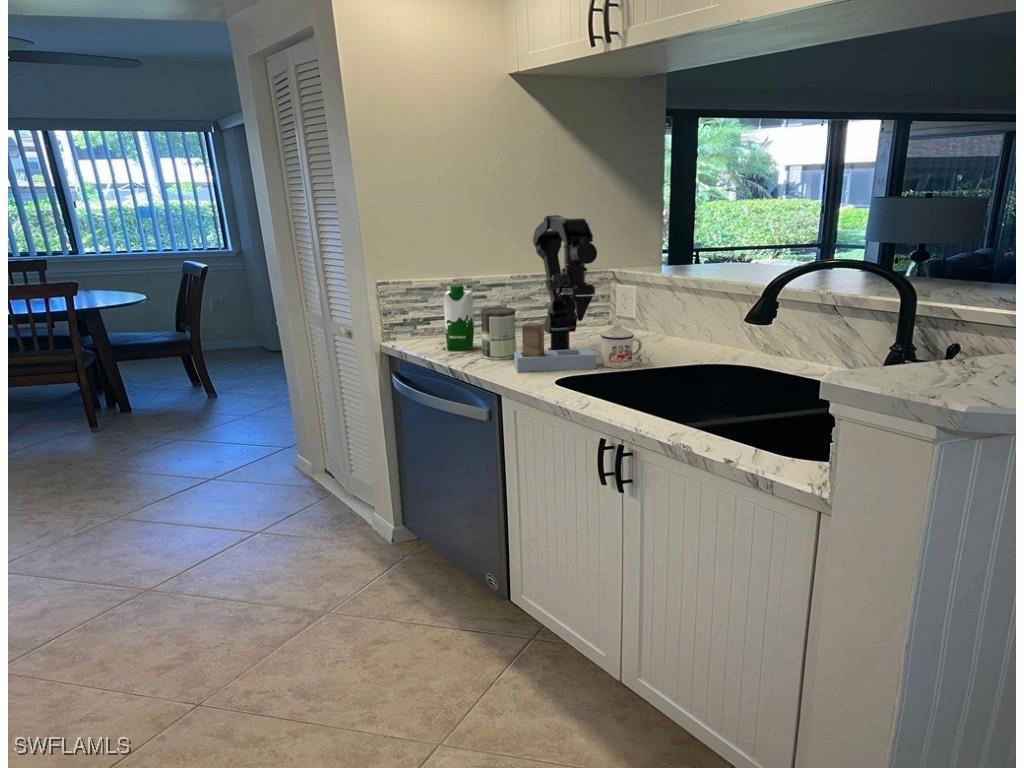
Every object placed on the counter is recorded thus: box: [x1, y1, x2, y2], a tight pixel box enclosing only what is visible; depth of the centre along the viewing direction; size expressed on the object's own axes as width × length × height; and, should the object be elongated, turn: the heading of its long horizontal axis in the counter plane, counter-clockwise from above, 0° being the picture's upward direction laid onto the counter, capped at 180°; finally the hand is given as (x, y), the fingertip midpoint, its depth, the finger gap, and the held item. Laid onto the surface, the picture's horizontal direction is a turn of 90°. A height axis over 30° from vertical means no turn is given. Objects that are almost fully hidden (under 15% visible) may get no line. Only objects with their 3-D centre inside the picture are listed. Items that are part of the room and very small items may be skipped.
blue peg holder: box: [513, 348, 598, 373], centre depth 214 cm, size 22×8×4 cm, turn 96°
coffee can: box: [480, 306, 517, 361], centre depth 228 cm, size 10×10×14 cm
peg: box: [521, 322, 545, 357], centre depth 212 cm, size 4×4×12 cm
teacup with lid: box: [600, 323, 643, 369], centre depth 215 cm, size 12×9×12 cm
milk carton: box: [443, 284, 475, 352], centre depth 240 cm, size 9×9×20 cm
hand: (575, 319), depth 217 cm, fingers open, 9 cm apart
